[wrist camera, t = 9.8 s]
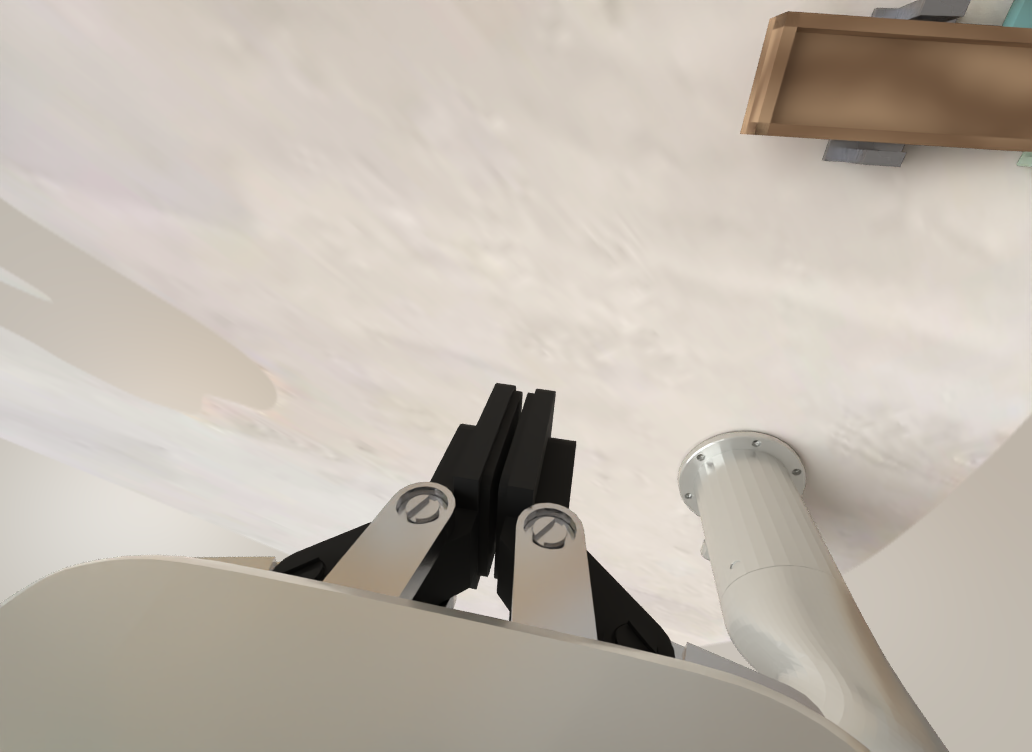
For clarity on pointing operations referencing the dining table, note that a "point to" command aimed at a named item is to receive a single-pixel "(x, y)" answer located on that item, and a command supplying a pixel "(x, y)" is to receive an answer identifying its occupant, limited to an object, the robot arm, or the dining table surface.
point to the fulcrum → (933, 4)
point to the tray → (1025, 159)
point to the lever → (896, 81)
